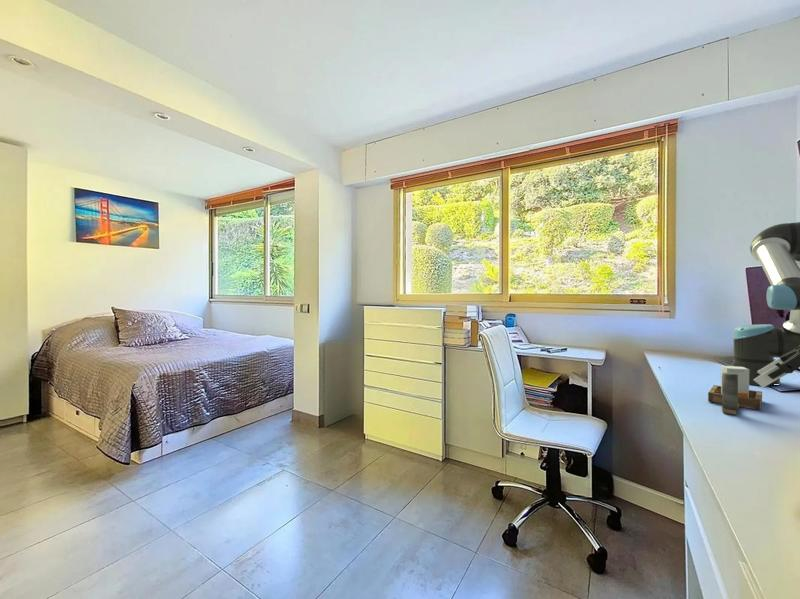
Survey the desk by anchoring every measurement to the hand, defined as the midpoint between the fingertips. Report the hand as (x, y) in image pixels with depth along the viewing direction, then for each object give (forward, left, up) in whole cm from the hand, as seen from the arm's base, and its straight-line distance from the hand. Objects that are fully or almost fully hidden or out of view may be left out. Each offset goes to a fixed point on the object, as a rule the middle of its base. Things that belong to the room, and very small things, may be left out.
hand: (759, 379), depth 104 cm
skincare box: (-17, -1, -12) cm, 21 cm away
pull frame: (-13, -3, -12) cm, 17 cm away
